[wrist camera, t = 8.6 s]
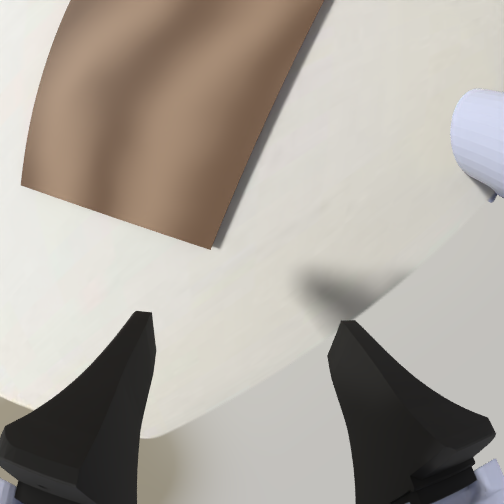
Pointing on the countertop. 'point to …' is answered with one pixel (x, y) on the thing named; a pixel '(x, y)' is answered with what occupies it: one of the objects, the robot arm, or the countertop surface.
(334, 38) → the countertop surface
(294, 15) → the board
